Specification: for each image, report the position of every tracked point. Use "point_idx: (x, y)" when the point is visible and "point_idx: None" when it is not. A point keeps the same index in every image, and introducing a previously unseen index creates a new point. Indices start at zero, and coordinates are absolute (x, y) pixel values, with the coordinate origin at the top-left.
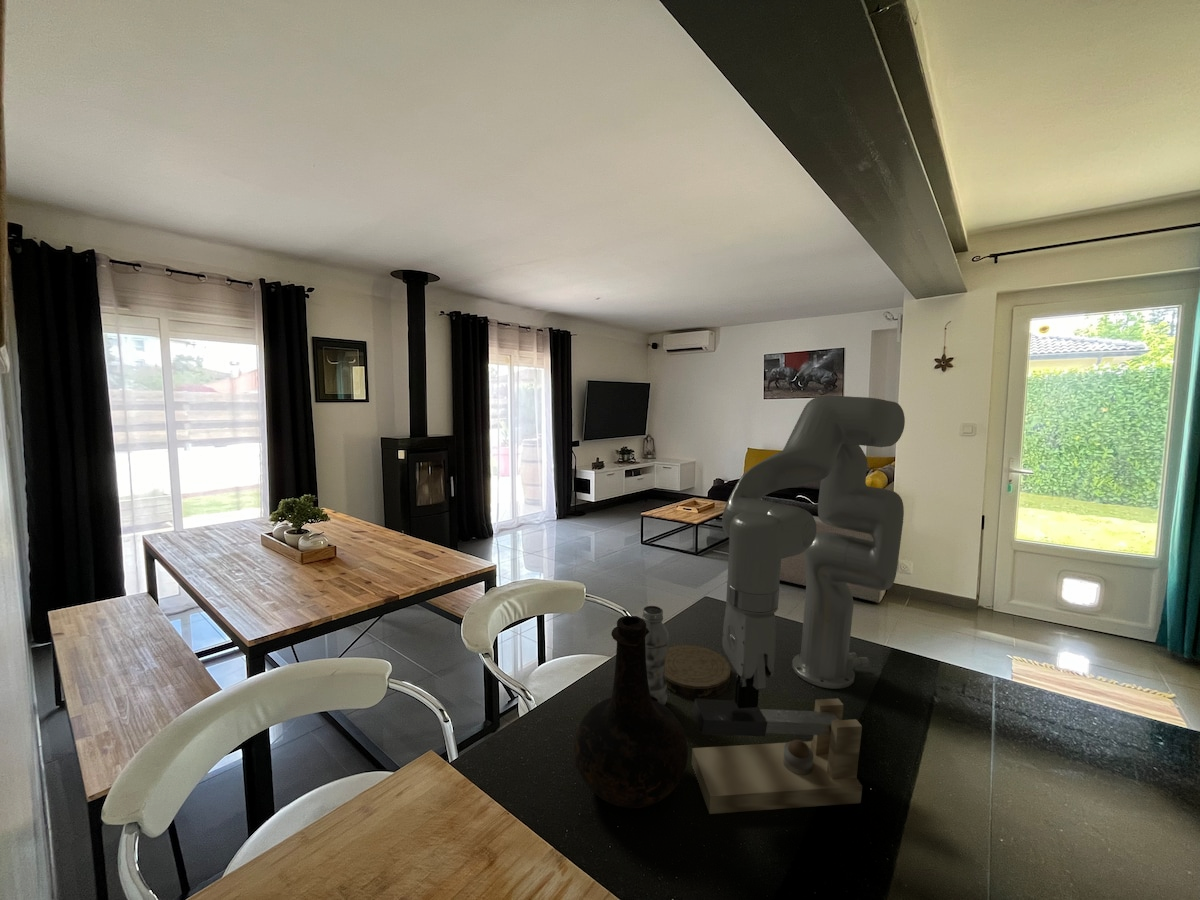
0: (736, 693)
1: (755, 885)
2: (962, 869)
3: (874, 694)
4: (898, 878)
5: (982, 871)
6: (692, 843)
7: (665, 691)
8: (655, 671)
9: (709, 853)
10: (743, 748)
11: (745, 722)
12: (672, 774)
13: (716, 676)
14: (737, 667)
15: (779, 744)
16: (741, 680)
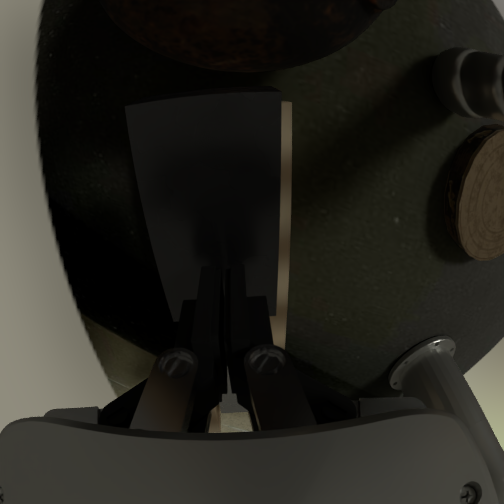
0: (230, 292)
1: (45, 164)
2: (121, 373)
3: (367, 395)
4: (93, 325)
5: (124, 383)
6: (97, 76)
7: (460, 106)
8: (496, 84)
9: (82, 102)
10: (281, 217)
11: (157, 263)
12: (114, 22)
13: (472, 230)
14: (52, 461)
15: (284, 285)
16: (191, 371)
